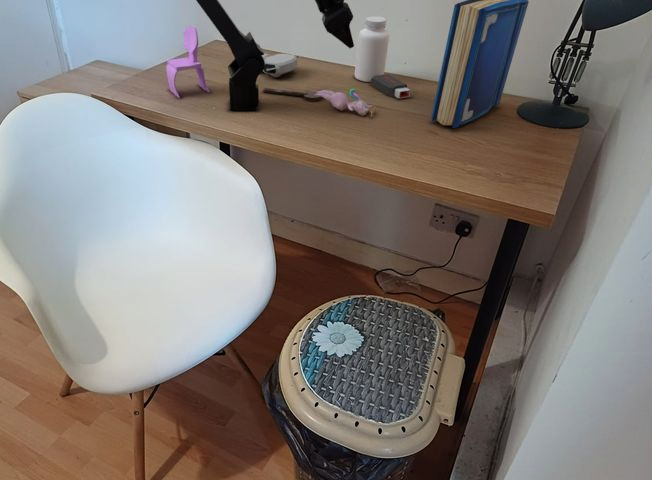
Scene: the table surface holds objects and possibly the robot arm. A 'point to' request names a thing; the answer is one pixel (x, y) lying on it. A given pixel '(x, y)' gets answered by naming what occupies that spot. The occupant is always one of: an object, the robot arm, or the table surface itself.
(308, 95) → the spoon
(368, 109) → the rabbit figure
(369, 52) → the pill bottle
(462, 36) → the book
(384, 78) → the usb drive
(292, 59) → the robot toy
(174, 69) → the toy chair
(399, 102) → the table surface
